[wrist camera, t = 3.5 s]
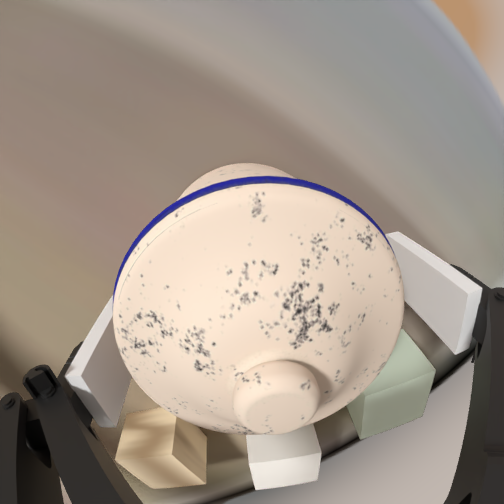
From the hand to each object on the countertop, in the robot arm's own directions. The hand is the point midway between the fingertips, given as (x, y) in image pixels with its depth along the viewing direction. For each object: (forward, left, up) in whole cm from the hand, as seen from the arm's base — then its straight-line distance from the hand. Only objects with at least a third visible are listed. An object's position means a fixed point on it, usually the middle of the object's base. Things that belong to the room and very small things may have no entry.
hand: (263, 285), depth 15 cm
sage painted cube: (+7, -10, -3) cm, 13 cm away
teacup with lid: (0, 0, -3) cm, 3 cm away
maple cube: (-10, -13, -3) cm, 17 cm away
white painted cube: (-1, -15, -3) cm, 15 cm away
